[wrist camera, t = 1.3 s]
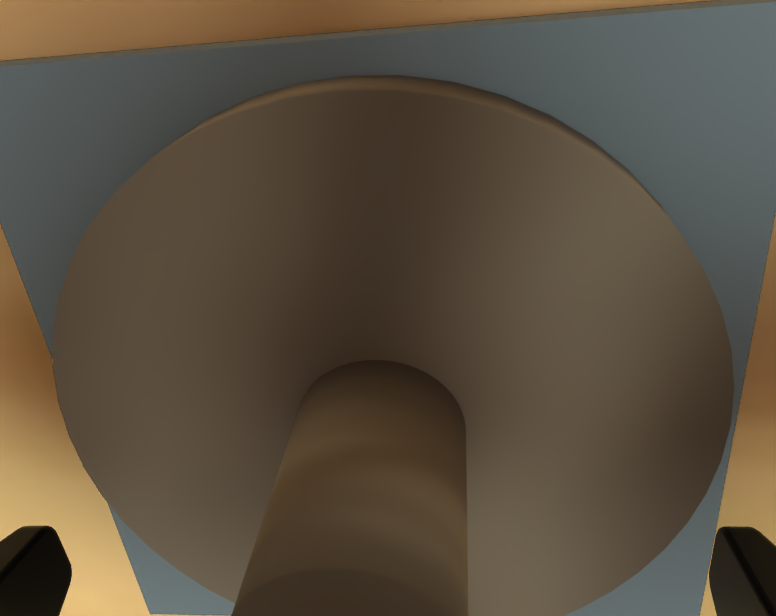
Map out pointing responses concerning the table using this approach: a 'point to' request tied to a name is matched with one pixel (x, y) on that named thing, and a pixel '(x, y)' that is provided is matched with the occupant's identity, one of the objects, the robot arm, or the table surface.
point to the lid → (393, 356)
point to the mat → (468, 67)
